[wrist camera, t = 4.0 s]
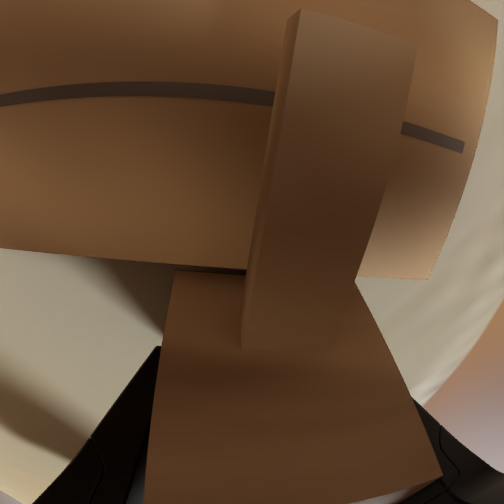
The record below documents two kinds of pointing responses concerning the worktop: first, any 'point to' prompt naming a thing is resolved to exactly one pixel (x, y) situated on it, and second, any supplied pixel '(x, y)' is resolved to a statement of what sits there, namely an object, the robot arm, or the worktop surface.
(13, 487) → the worktop surface
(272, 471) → the brown block with bar
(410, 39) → the plank
